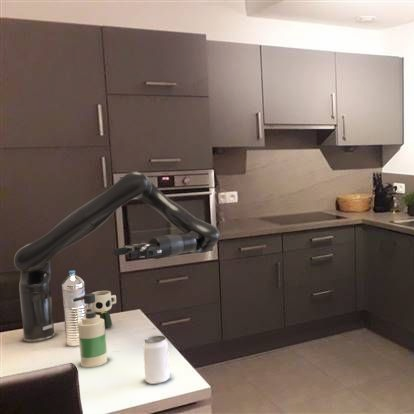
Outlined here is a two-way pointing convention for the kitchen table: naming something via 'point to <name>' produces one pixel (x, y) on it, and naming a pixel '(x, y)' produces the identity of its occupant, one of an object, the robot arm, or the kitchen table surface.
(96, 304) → the character mug
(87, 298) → the pump head
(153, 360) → the can
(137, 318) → the kitchen table surface
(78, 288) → the water bottle
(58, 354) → the kitchen table surface
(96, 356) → the dispenser
